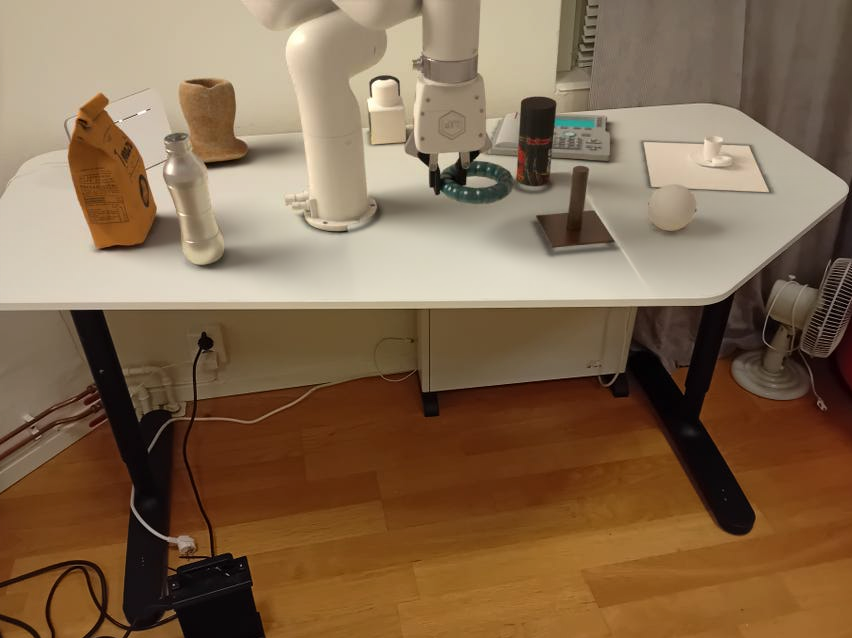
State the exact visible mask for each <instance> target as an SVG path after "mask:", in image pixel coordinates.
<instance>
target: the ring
mask: <svg viewBox="0 0 852 638" xmlns="http://www.w3.org/2000/svg"><path fill="white" fill-rule="evenodd" d="M440 172H441V177H440V193H442V194H443V195H444V196H445V197H447V198H448V199H450V200H452V201H455V202H458V203H460V204H467V205H489V204H492V203H496V202H500V201H502V200H504V199H505V198H507V197H508V196H509V195H510V194H511V193H512V191H513V188H514V186H515V179H514V177H513V175H512V173H511V172H510V170H508V169H506V168H505V167H504V166H502V165H500V164H498V163H494V162H491V161H485V160H484V161H483V160H474V161H473V162H472V163H471V164H470V166H469V168H467V178H474V177H478V178H485V179H489V180H491V181H494V182H496V183H495V184H493V185H489V186H483V187H482V186H481V187H471V186H462V185H459V184H457V183H456V182H455V163H452V164H451V165H449V166H447V167H445V168H444V169H443V170H442V171H440Z"/></svg>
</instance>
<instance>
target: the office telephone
mask: <svg viewBox="0 0 852 638" xmlns="http://www.w3.org/2000/svg"><path fill="white" fill-rule="evenodd" d="M607 122H608V116H606V115H599V114H598V115H597V114H595V115H594V114H578V113H556V114H555V125H554V136H553V147H552V158H557V159H558V158H559V159H574V160H587V161H588V160H590V161H607V162H608V161H609V160H610V155H611V133H610V132H608V131H606V124H607ZM519 127H520V112H518V111H516V112H510V113H507V114H506V115H503V116H502V118H501V119H500V122H499V124H498V126H497V128H496V130H495V132H494V134H493V137H492V139H491V143H492V145H493V146H492V148H491V149H489V150H487V153H488V154H489V155H501V156H502V155H503V156H518V143H519Z"/></svg>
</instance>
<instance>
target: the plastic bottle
mask: <svg viewBox="0 0 852 638" xmlns="http://www.w3.org/2000/svg"><path fill="white" fill-rule="evenodd" d="M163 142H164V146H165V147H164V148H165V150H164V151H165V153H166V154H167V155H168V154H169V155H168V157H167V156H166V159H165V162H164V164H163V168H162V177H163V180H164V183H165V185H166V188H167V190H168V192H169V195H170V197H171V199H172V202H173V205H174V208H175V212H176V215H177V218H178V225H179V230H180V242H181V249H182V252H183V254H184V256H185V257H186V259H187V260H188V261H189V262H190V263H192V264H194V265H200V266H201V265H203V266H205V265H210V264H213V263H215V262H218V261H219V260H220V259H221V258H222V256H223V254H224V251H225V241H224V238H223V235H222V232H221V231H220V228H219V227H218V224H217V223H218V222H217V220H216V217H215V215H214V211H213V207H212V201H211V195H210V186H209V175H208V168H207V166H206V164H205V163H204V162H203V161H202V160H201V159H200V158H199V157H198V156H197V155H196V154H195V153H193V152H192V149H193V147H192V144H191V141H190V134H188V133H187V132H181V131H180V132H179V131H177V132H171V133H168V134H166V135H165V136H164V137H163Z"/></svg>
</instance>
